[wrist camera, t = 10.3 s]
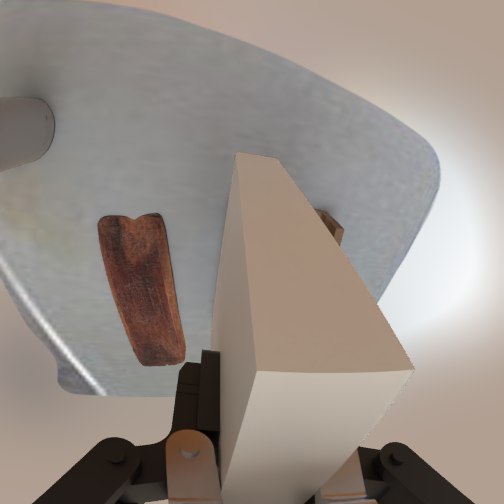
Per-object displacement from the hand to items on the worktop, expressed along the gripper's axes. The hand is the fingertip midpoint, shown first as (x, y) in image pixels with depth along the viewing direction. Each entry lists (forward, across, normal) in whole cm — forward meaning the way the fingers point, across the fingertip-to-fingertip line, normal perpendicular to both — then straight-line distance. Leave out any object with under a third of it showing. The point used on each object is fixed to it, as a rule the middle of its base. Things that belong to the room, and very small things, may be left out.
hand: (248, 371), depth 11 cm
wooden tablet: (+32, +11, +18) cm, 38 cm away
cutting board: (+11, 0, -1) cm, 11 cm away
